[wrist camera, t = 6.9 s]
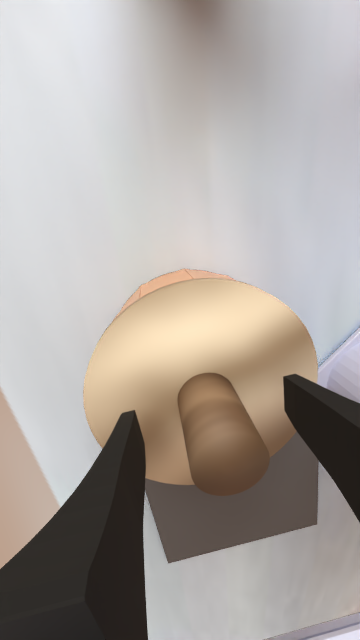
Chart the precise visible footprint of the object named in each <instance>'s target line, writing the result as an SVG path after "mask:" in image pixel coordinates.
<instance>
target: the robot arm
mask: <svg viewBox="0 0 360 640" xmlns="http://www.w3.org/2000/svg"><path fill="white" fill-rule="evenodd" d="M283 386H284V411H285V412H286V414H287V416H288V418H289V420H290V421H291V423H292V425H293V426H294V428H295V430H296V431H297V432H298V434H299V435H300V436H301V438H302V439H303V440H304V442H305V443H306V444H307V446H308V447H309V448H310V450H311V451H312V452H313V454H314V455H315V456H316V457H317V459H318V460H319V461H320V463H321V464H322V465H323V467H324V468H325V469H326V471H327V472H328V473H329V475H330V476H331V477H332V479H333V480H334V482H335V483H336V485H337V486H338V488H339V489H340V491H341V493H342V494H343V496H344V497H345V499H346V501H347V502H348V504H349V505H350V507H351V509H352V510H353V512H354V514H355V515H356V517H357V519H358V520H359V522H360V328H359V329H358V330H357V331H356V332H355V333H354V334H353V335H351V336H350V337H349V338H348V339H347V340H346V341H345V342H344V343H343V344H342V345H341V346H340V347H339V348H338V349H337V350H336V351H335V352H334V353H333V354H332V355H331V356H330V357H329V358H328V359H327V360H326V361H325V362H324V363H323V364H322V365H321V366H320V367H319V368H318V379H317V384H316V383H314V382H312V381H310V380H308V379H306V378H304V377H302V376H300V375H297V374H291V375H287V376H283ZM145 476H146V456H145V443H144V439H143V436H142V432H141V429H140V425H139V422H138V418H137V415H136V412H135V410H132V411H128V412H123V413H122V414H121V415H120V417H119V419H118V421H117V423H116V425H115V427H114V429H113V431H112V433H111V435H110V437H109V438H108V440H107V442H106V444H105V446H104V447H103V449H102V451H101V453H100V454H99V456H98V457H97V459H96V461H95V462H94V464H93V465H92V467H91V469H90V470H89V472H88V473H87V474H86V476H85V477H84V479H83V480H82V482H81V483H80V484H79V486H78V487H77V488H76V490H75V491H74V492H73V494H72V495H71V496H70V497H69V499H68V500H67V501H66V502H65V503H64V505H63V506H62V507H61V508H60V509H59V510H58V512H57V513H56V514H55V515H54V516H53V518H52V519H51V520H50V521H49V522H48V523H47V524H46V525H45V526H44V527H43V528H42V529H41V531H39V532H38V534H36V535H35V537H34V538H33V539H32V540H31V541H30V542H29V543H28V544H27V545H26V546H25V547H24V548H22V549H21V551H19V552H18V553H17V554H16V555H15V556H14V557H13V558H12V559H11V560H10V561H9V562H8V563H6V564H5V565H4V566H3V567H2V568H1V569H0V640H148V634H147V616H146V597H145V575H144V548H143V513H144V495H145ZM264 640H360V612H359V613H355V614H352V615H348V616H345V617H341V618H338V619H334V620H331V621H327V622H324V623H320V624H317V625H313V626H310V627H306V628H303V629H299V630H296V631H292V632H289V633H285V634H282V635H278V636H275V637H271V638H268V639H264Z"/></svg>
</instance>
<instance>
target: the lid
mask: <svg viewBox="0 0 360 640" xmlns="http://www.w3.org/2000/svg"><path fill="white" fill-rule="evenodd" d="M291 374H297V375H300V376H302V377H304V378H306V379H308V380H310V381H312V382H314V383H316V384H317V379H318V364H317V356H316V351H315V348H314V345H313V341H312V339H311V337H310V335H309V333H308V331H307V329H306V327H305V326H304V324H303V323H302V321H301V320H300V319H299V317H298V316H297V315H296V314H295V313H294V312H293V311H292V310H291V309H290V308H289V307H288V306H287V305H285V304H284V303H283V302H281V301H280V300H279V299H277V298H276V297H274V296H272V295H270V294H268V293H266V292H264V291H263V290H261V289H259V288H257V287H254V286H252V285H249V284H246V283H243V282H239V281H234V280H229V279H221V278H199V279H190V280H185V281H180V282H176V283H173V284H170V285H167V286H164V287H161V288H158V289H156V290H154V291H152V292H150V293H148V294H146V295H144V296H143V297H141V298H140V299H138V300H137V301H135V302H134V303H132V304H131V305H129V306H128V307H127V308H126V309H125V310H124V311H123V312H122V313H120V314H119V315H118V316H117V317H116V318H115V319H114V321H113V322H112V323H111V324H110V325H109V326H108V328H107V329H106V330H105V332H104V334H103V335H102V337H101V338H100V340H99V341H98V343H97V346H96V348H95V350H94V352H93V355H92V357H91V359H90V362H89V365H88V368H87V372H86V375H85V381H84V390H83V397H84V409H85V413H86V418H87V421H88V424H89V426H90V429H91V431H92V433H93V435H94V437H95V438H96V440H97V442H98V443H99V444H100V446H101V447H102V448H103V447H104V446H105V444H106V442H107V440H108V438H109V437H110V435H111V433H112V431H113V429H114V427H115V425H116V423H117V421H118V419H119V417H120V415H121V414H122V413H123V412H128V411H132V410H135V412H136V415H137V418H138V422H139V425H140V429H141V432H142V436H143V439H144V443H145V456H146V476H145V478H147V479H150V480H154V481H158V482H161V483H168V484H175V485H196V486H197V487H198V488H199V489H200V490H201V491H203V492H205V493H208V494H211V495H216V496H229V495H234V494H238V493H241V492H243V491H245V490H247V489H249V488H251V487H252V486H254V485H255V484H256V483H257V482H259V481H260V479H261V478H262V477H263V476H264V474H265V473H266V471H267V469H268V466H269V461H270V457H271V456H273V455H274V454H275V453H276V452H278V451H279V450H280V449H281V448H282V447H283V446H284V445H285V444H286V443H287V442H288V441H289V440H290V439H291V438H292V437H293V435H294V434H295V433H296V430H295V428H294V426H293V425H292V423H291V421H290V420H289V418H288V416H287V414H286V412H285V411H284V386H283V376H287V375H291Z"/></svg>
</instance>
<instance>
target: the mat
mask: <svg viewBox="0 0 360 640" xmlns="http://www.w3.org/2000/svg"><path fill="white" fill-rule="evenodd" d="M145 491H146V494H147V497H148V500H149V503H150V507H151V510H152V513H153V516H154V519H155V522H156V526H157V529H158V532H159V535H160V538H161V541H162V545H163V548H164V551H165V554H166V557H167V561H168V563H171V562H175V561H179V560H183V559H187V558H190V557H194V556H198V555H202V554H206V553H210V552H213V551H217V550H221V549H225V548H229V547H232V546H236V545H240V544H244V543H248V542H251V541H255V540H259V539H263V538H267V537H270V536H274V535H278V534H282V533H286V532H289V531H293V530H297V529H301V528H305V527H308V526H312V525H316V524H317V502H318V459H317V457H316V456H315V455H314V454H313V452H312V451H311V450H310V448H309V447H308V446H307V444H306V443H305V442H304V440H303V439H302V438H301V436H300V435H299V434H298V432H297V431H296V433H295V434H294V435H293V437H292V438H291V439H290V440H289V441H288V442H287V443H286V444H285V445H284V446H283V447H282V448H281V449H280V450H279V451H278V452H276V453H275V454H274V455H273V456H271V457H270V461H269V466H268V469H267V471H266V473H265V474H264V476H263V477H262V478H261V479H260V481H259V482H257V483H256V484H255V485H254V486H252V487H251V488H249V489H247V490H245V491H243V492H241V493H238V494H234V495H229V496H216V495H211V494H208V493H205V492H203V491H201V490H200V489H199V488H198V487H197V486H196V485H175V484H168V483H161V482H158V481H154V480H150V479H147V478H145Z"/></svg>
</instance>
